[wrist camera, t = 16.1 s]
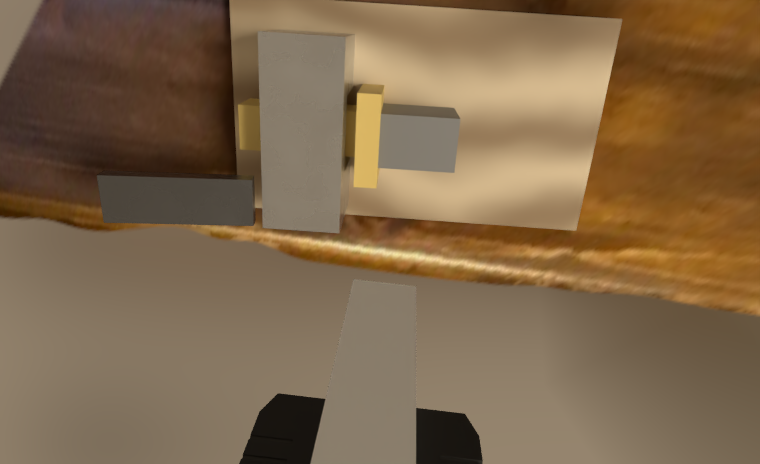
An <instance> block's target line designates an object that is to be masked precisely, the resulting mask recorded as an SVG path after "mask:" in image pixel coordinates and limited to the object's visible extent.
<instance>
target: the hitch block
mask: <svg viewBox="0 0 760 464" xmlns="http://www.w3.org/2000/svg"><path fill="white" fill-rule="evenodd" d="M354 55H355V34H345V33H329V32H314V31H299V30H284V29H280V30H267V31H258V63H259V101H260V138H261V175H262V213H263V228H273V229H287V230H301V231H315V232H329V233H339V232H340V229H341V226H342V222H343V219H344V216H345V213H346V209H347V206H348V203H349V181H350V157H345V138H346V110H347V95H348V94H349V92H350V91H351V90H352V88H353V80H354Z"/></svg>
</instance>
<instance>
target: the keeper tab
mask: <svg viewBox="0 0 760 464" xmlns="http://www.w3.org/2000/svg"><path fill="white" fill-rule="evenodd" d="M97 180H98V186H99V193H100V200H101V206H102V213H103V220H104V222H106V223H150V224H194V225H238V226H254V223H255V220H256V218H255V187H254V176H253V175H222V174H191V173H160V172H130V171H102V172H101V173H99V174H98V175H97Z"/></svg>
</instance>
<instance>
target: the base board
mask: <svg viewBox="0 0 760 464" xmlns="http://www.w3.org/2000/svg"><path fill="white" fill-rule="evenodd" d="M229 3H230V25H231V47H232V69H233V92H234V114H235V136H236V158H237V175H253V176H254V187H255V208H262V175H261V151H256V150H241V149H240V140H239V118H238V104H240V103H242V102H244V101H246V100H248V99H250V98H252V99H259V63H258V31H267V30H280V29H284V30H299V31H314V32H329V33H345V34H355V55H354V80H353V88H352V90H351V91H350V92H349V94H348V95H347V105H357V92H358V91H359V89H360V88H361V86H362V85H363V84H375V85H385V86H384V103H387V104H402V105H418V106H434V107H449V108H455V110H456V112H457V114H458V115H459V117H460V128H459V137H458V146H457V155H456V163H455V172H454V173H446V172H431V171H416V170H401V169H386V168H380V170H379V176H378V182H377V188H361V187H354V162H355V157H350V181H349V203H348V206H347V209H346V213H345V214H351V215H365V216H379V217H393V218H407V219H421V220H435V221H449V222H463V223H477V224H491V225H505V226H519V227H533V228H547V229H561V230H575V231H576V229H577V225H578V220H579V216H580V211H581V206H582V202H583V197H584V193H585V188H586V184H587V179H588V174H589V170H590V165H591V161H592V156H593V152H594V147H595V142H596V138H597V133H598V129H599V124H600V120H601V115H602V110H603V106H604V101H605V97H606V92H607V88H608V83H609V78H610V74H611V69H612V65H613V60H614V55H615V51H616V46H617V42H618V37H619V33H620V28H621V23H622V19H613V18H598V17H582V16H567V15H551V14H536V13H520V12H505V11H489V10H474V9H458V8H443V7H427V6H412V5H396V4H381V3H365V2H350V1H334V0H229ZM345 157H347V156H345Z"/></svg>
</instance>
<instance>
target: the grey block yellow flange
mask: <svg viewBox="0 0 760 464" xmlns="http://www.w3.org/2000/svg"><path fill="white" fill-rule="evenodd" d="M384 86H385V85H375V84H363V85H362V86H361V88H360V89H359V91H358V92H357V105H347V110H346V138H345V156H347V157H355V162H354V187H361V188H377V182H378V176H379V170H380V168H386V169H401V170H416V171H431V172H446V173H454V172H455V163H456V155H457V146H458V137H459V128H460V117H459V115H458V114H457V112H456V110H455V108H449V107H434V106H418V105H402V104H387V103H384ZM238 118H239V140H240V149H241V150H256V151H261V138H260V101H259V99H252V98H250V99H248V100H246V101H244V102H242V103H240V104H238Z"/></svg>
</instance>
